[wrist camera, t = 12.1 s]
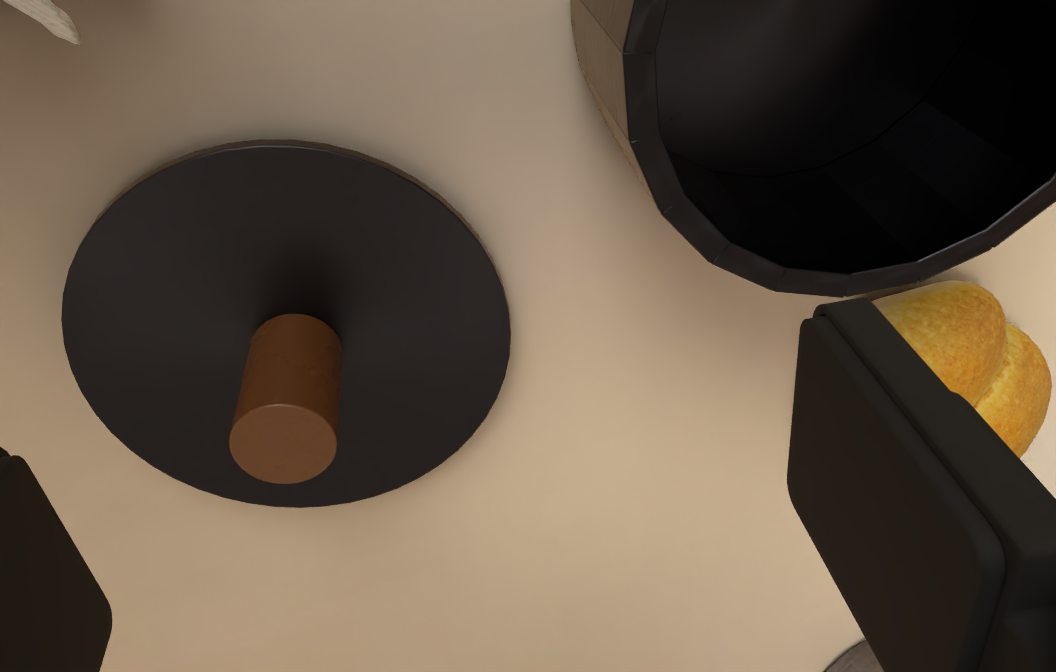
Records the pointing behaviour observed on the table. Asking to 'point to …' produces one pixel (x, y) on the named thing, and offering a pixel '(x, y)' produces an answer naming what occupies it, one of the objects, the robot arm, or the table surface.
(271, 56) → the table surface
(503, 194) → the table surface
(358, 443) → the pan lid
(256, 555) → the table surface
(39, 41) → the table surface
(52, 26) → the eagle figurine
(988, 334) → the bread roll
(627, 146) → the pan
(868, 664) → the pillar candle
